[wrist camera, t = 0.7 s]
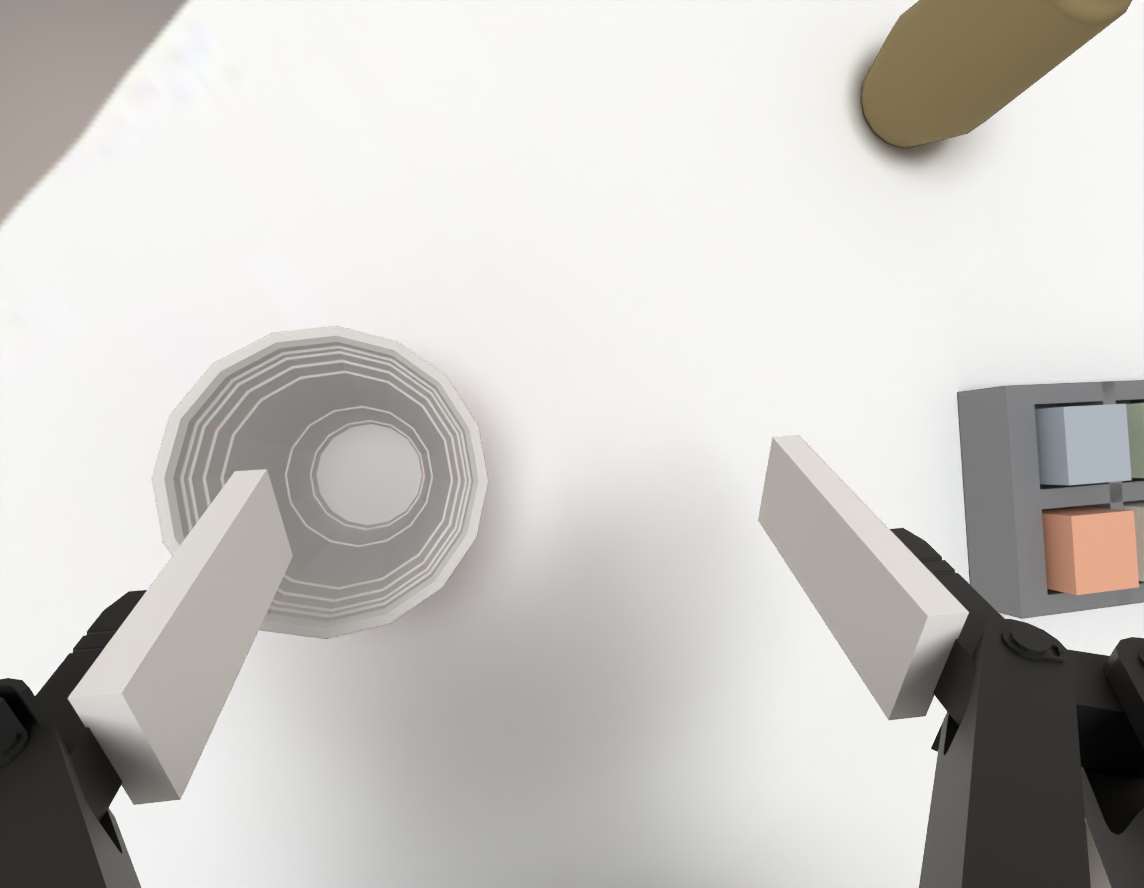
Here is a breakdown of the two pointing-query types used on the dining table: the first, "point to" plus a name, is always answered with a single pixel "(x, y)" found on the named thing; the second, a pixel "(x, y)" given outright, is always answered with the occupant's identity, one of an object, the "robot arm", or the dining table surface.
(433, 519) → the plastic cup
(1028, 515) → the keypad
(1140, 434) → the key sage
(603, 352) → the dining table surface
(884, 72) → the squeeze bottle
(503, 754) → the dining table surface
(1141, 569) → the key cream
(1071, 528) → the key terracotta
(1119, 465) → the key slate
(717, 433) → the dining table surface
